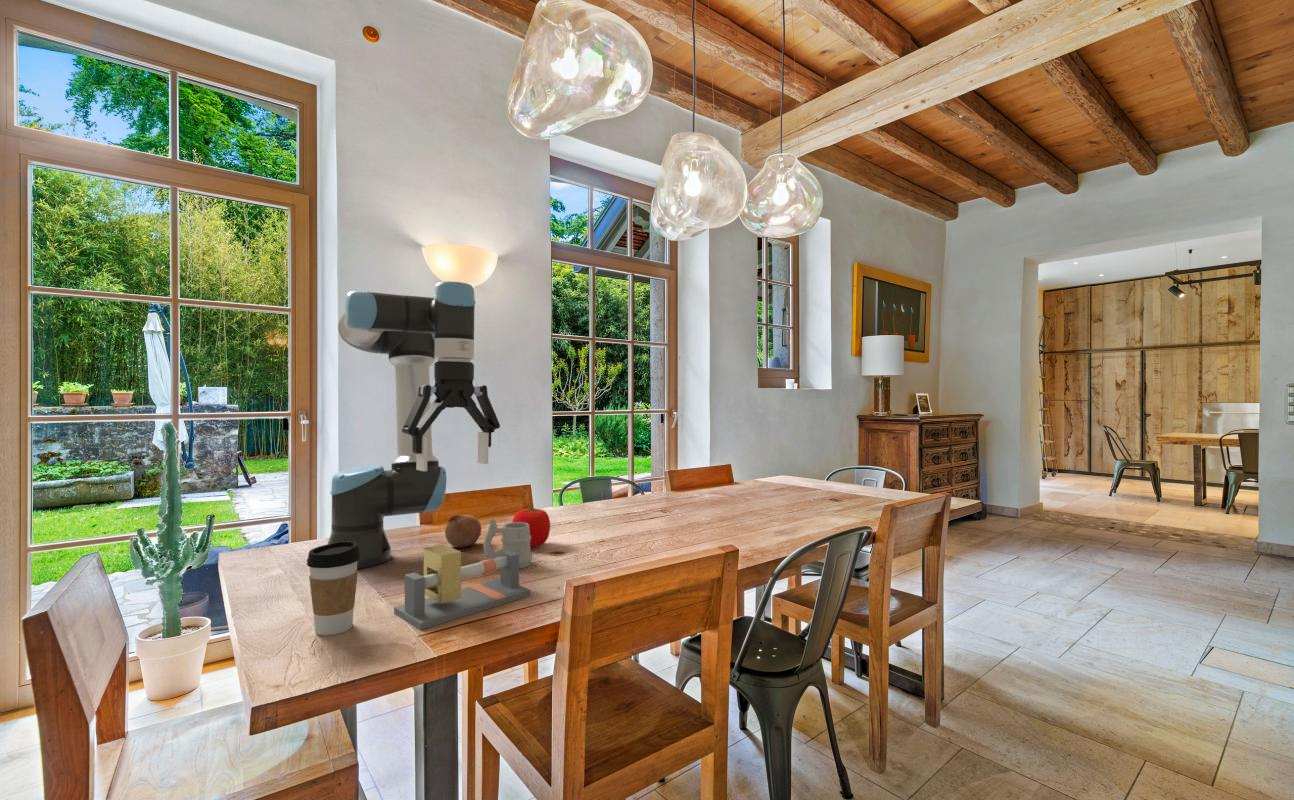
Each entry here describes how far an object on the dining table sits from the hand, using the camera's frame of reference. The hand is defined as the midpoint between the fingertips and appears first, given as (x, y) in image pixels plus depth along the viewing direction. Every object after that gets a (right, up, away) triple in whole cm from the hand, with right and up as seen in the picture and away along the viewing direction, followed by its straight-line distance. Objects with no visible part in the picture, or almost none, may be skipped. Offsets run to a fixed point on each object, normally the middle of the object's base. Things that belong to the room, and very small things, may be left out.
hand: (453, 466), depth 114 cm
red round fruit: (+7, -27, +43) cm, 51 cm away
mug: (+5, -28, +26) cm, 38 cm away
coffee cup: (-18, -28, -11) cm, 35 cm away
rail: (+2, -28, +1) cm, 28 cm away
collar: (-1, -25, -3) cm, 25 cm away
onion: (-12, -27, +42) cm, 51 cm away
